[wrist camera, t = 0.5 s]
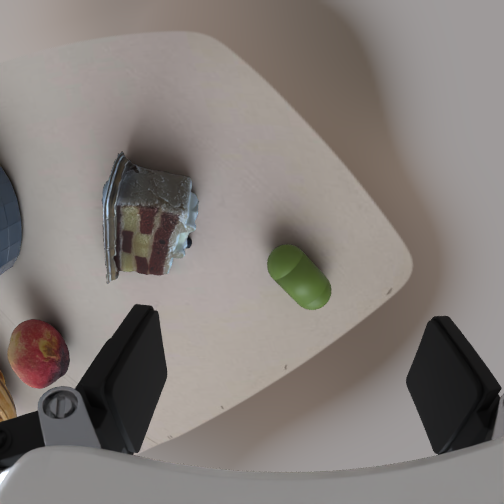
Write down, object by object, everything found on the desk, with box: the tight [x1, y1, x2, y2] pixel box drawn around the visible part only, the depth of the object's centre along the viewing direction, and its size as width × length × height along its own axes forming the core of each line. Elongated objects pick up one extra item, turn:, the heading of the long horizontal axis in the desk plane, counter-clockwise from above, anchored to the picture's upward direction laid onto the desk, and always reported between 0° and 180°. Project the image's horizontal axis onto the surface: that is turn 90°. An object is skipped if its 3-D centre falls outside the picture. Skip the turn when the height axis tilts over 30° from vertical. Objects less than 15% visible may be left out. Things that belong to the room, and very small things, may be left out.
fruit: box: [7, 319, 70, 388], centre depth 28 cm, size 8×8×8 cm
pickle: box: [267, 244, 331, 310], centre depth 25 cm, size 6×3×3 cm, turn 43°
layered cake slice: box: [102, 151, 199, 284], centre depth 24 cm, size 10×7×12 cm
